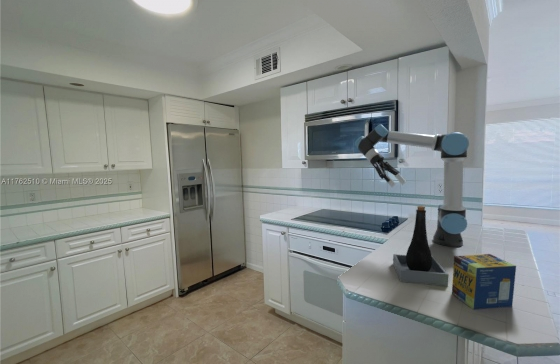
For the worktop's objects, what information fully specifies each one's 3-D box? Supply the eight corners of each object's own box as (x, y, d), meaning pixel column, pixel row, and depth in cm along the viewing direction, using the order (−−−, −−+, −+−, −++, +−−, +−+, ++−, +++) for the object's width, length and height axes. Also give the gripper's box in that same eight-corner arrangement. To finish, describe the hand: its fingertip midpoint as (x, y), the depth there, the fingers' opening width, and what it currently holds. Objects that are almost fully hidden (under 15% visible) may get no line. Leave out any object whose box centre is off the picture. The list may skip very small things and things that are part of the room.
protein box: (450, 293, 101) (453, 255, 99) (487, 291, 102) (490, 253, 100) (473, 310, 90) (476, 267, 89) (513, 307, 92) (517, 265, 90)
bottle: (429, 268, 120) (432, 205, 117) (434, 278, 110) (437, 210, 107) (404, 265, 124) (406, 203, 120) (406, 275, 114) (409, 208, 111)
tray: (433, 267, 124) (434, 257, 123) (447, 286, 106) (448, 274, 106) (393, 263, 128) (393, 254, 127) (400, 281, 111) (400, 270, 110)
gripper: (380, 161, 165) (403, 186, 155) (359, 162, 148) (384, 191, 139) (388, 152, 160) (413, 178, 151) (368, 153, 144) (394, 182, 134)
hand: (399, 184), depth 145 cm, fingers open, 13 cm apart
